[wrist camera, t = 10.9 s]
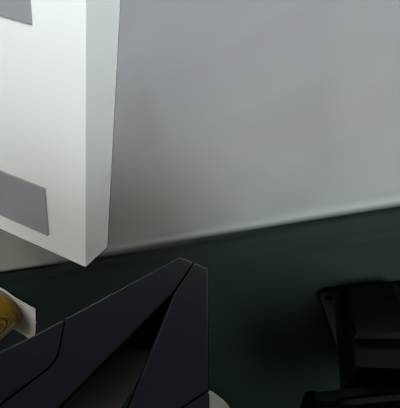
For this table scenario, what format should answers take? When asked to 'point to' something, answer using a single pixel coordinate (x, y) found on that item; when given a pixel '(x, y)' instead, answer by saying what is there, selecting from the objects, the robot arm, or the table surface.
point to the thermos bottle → (217, 401)
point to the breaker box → (57, 122)
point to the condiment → (16, 315)
